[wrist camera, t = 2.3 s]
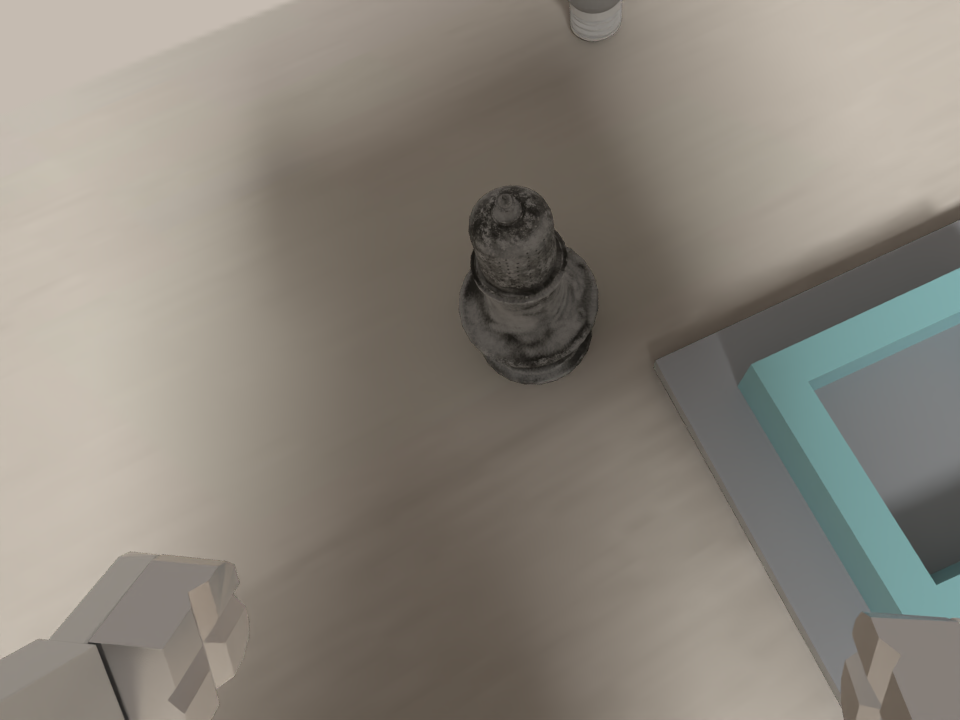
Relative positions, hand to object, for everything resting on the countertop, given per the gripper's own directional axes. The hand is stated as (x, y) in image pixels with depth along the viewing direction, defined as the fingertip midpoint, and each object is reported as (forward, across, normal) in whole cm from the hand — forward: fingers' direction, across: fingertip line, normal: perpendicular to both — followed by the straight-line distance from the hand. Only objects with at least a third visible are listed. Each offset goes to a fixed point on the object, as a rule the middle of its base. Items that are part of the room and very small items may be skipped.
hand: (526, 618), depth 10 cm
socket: (+20, -14, +10) cm, 27 cm away
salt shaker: (+24, +2, +7) cm, 25 cm away
